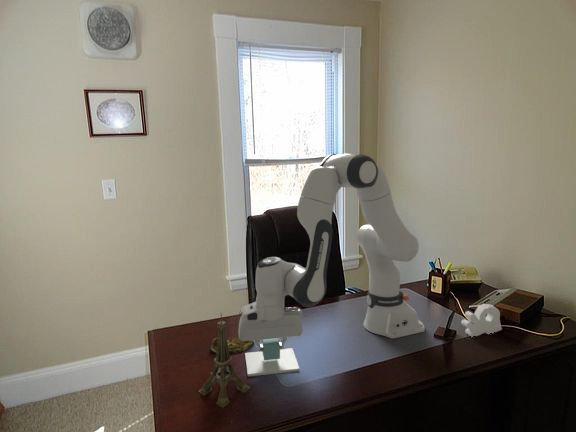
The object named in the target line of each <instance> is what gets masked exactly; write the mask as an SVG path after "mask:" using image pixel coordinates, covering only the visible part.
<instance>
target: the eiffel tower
mask: <svg viewBox="0 0 576 432" xmlns="http://www.w3.org/2000/svg"><path fill="white" fill-rule="evenodd" d="M222 316H223V315H222V313H220V321H218V322H217V323H216V327H217V328H218V333H217V337H218V341H217V342H218V345H217V353H216V354H215V355H216V356H215V358H214V359H213V362H214V367H213V370H212V372H210V377H208V380H206V382H205V383H204V384H203V385H202V387H201V388H200V389H199V390H197V392H198V393H199V394H201V395H202V396H206V395H207V394H209V393H211V392H212V391H213V390H212V388H213V386H214V384H215V383H217V384H218V385H219V386H220V389H219V395H218V399H217V400H216V402H215V404H216V405H217V406H220V408H225V407H226V406H228V404H230V403H231V401H230V399H229V397H228V392H227V387H226V386H227V385H228V384H229V383H230V382H234V384H235V385H236V389H237V391H239V392H241V393H243V394H244V393H246V392H247V391H249V390H250V389H251V387H250V386H249V385H247V384H246V382H245V381H244V380H243V379H242V378H241V377H240V376H239V375H238V374H237V372H238V371H237V370H235V368H234V366H233V363H232V361H233V357H232V356H230V355H231V354H229V350H228V344H227V339H228V338H227V334H226V333H227V332H226V329H225V328H226V327H228V325H227V322H226V321H224V320H223V317H222Z"/></svg>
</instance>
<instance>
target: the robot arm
mask: <svg viewBox="0 0 576 432" xmlns="http://www.w3.org/2000/svg"><path fill="white" fill-rule="evenodd" d="M341 188H355V189H356V193H357V197H358V198H357V199H358V201H359V204H360V208H361V213H362V216H363V218H364V220H365V221H366V222H367V223H366V224H364V225H362V226H361V227H360V228H359V230H358V231H357V233H356V240H357V244H358V246H360V248H361V250H362V251H363V254H364V256H365V259H366V262H367V266H368V273H369V274H368V275H369V277H368V279H369V282H368V290H367V297H366V301H367V310H366V315H365V318H364V321H363V328H364V329H365V330H367V331H369V332H370V333H373V334H375V335H379V336H383V337H384V336H385V337H387V338H390V339H397V338H401V337H407V336H410V335H414V334H419V333H424V332H425V330H426V329H425V325H424V323H423V322H422V321H421V320H420V319H419V315H418V312H417V311H416V310H415V309H414V308H413V307H412V305H409V303H407V302H408V301H409V299H410V297H409V295H407V294H406V293H404V292H402V291H401V290H400V289H401V288H400V286H401V285H400V284H401V273H400V270H399V268H398V267H397V266H396V265H395V263H394V261H395V262H404V263H405V262H410V261H412V260H413V259H415V257H416V256H417V255H418V252H419V248H420V245H419V241H418V239H417V237H416V236H415V235H414V234H413V233H411V232H410V231H409V230H408V229H407V227H406V226H405V224H404V223H403V221H402V220H401V218H400V216H399V215H398V213H397V211H396V206H395V204H394V201H393V197H392V193H391V187H390V185H389V182H388V179H387V177H386V174H385V171H384V169H383V168H382V166H381V165H380V164H379V163H377V162H376V161H375V160H374V158H372V157H371V156H368V155H366V154H363V153H362V154H361V153H360V154H357V153H353V152H351V153H350V152H347V153H332V154H329V155H326V157H324V159H322V161H321V162H320V164H319V166H317V167H314V168H312V169H311V170H310V172H309V174H308V176H307V178H306V180H305V182H304V185H303V188H302V190H301V193H300V197H299V200H298V204H297V211H296V217H297V219H298V221H299V223H300V224H301V226H303V228H304V229H305V231H306V233H307V235H308V237H309V241H310V242H309V243H310V245H309V250H308V251H309V252H308V255H307V256H308V257H307V261H306V262H307V263H306V267H303V266H302V265H301V264H298V263H296V262H287V261H285V260H283V259H281V258H280V257H277V256H269V257H266V258H263V259H261V260H260V261H259V262H258V263H257V266H256V270H255V290H256V297H255V301H254V302H252V303H249V304H246V305H243V307H241V316H240V318H239V322H238V337H239V339H240V340H241V341H251V340H253V341H254V344H255V345H256V346H257V350H258V352H262V351H263V344H262V343H260V342H261V340H262V339H272V338H278V339H280V341H279V343H280V350H281V349H285V347H284V345H285V344H286V342H287V341H288V338H292V337H300V336H301V335H302V334H303V331H304V330H303V329H304V328H303V322H302V319H303V317H304V311H303V310H302V308H300V307H298V306H294V307H285V298H286V296H290V297H292V298H293V299H294V300H295V301H296V302H297V303H298V304H300V305H301V306H302V307H306V308H310V307H314V306H316V305H317V304H319V303H320V302H322V300H323V299H324V297H325V295H326V293H327V271H328V265H329V259H330V254H331V248H332V240H333V227H332V218H333V211H334V208H335V203H336V200H337V194H338V192H339V191H340V190H341Z"/></svg>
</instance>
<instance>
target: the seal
mask: <svg viewBox="0 0 576 432" xmlns="http://www.w3.org/2000/svg"><path fill="white" fill-rule="evenodd" d="M226 339H227V344H228V350H229V355H231V354H239V353H243V352H246V351H247V350H248V349H251V348H252V347H253V346H254V344H255V340H251V341H241V340H240V339H239V336H238V337H230V338H226ZM211 343H212V344H211V345H210V351H212V352H214V353H215V354H217V345H218V336H217V337H214V338H213V339H212V342H211Z"/></svg>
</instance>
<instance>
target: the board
mask: <svg viewBox="0 0 576 432" xmlns="http://www.w3.org/2000/svg"><path fill="white" fill-rule="evenodd" d="M293 349H294V348H292V347H291V348H290V347H288V348H284V349H281V350H280V359H273V360H264V357H263V352H259V351H250V352H245V353H244V356H245V363H246V364H245V365H246V373H247V374H246V375H247V377H257V376H262V375H263V376H267V375H274V374H283V373H284V374H285V373H291V372H300V366H299V363H298V359H297V356H296V355H295V352H294V350H293Z"/></svg>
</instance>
